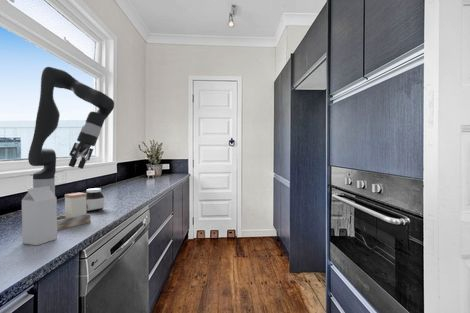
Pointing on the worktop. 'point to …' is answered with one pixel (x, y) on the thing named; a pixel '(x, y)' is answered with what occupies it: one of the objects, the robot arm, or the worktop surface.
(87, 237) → the worktop surface
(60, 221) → the track
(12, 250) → the worktop surface
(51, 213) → the milk carton
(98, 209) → the spread jar
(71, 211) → the pink-topped white box
